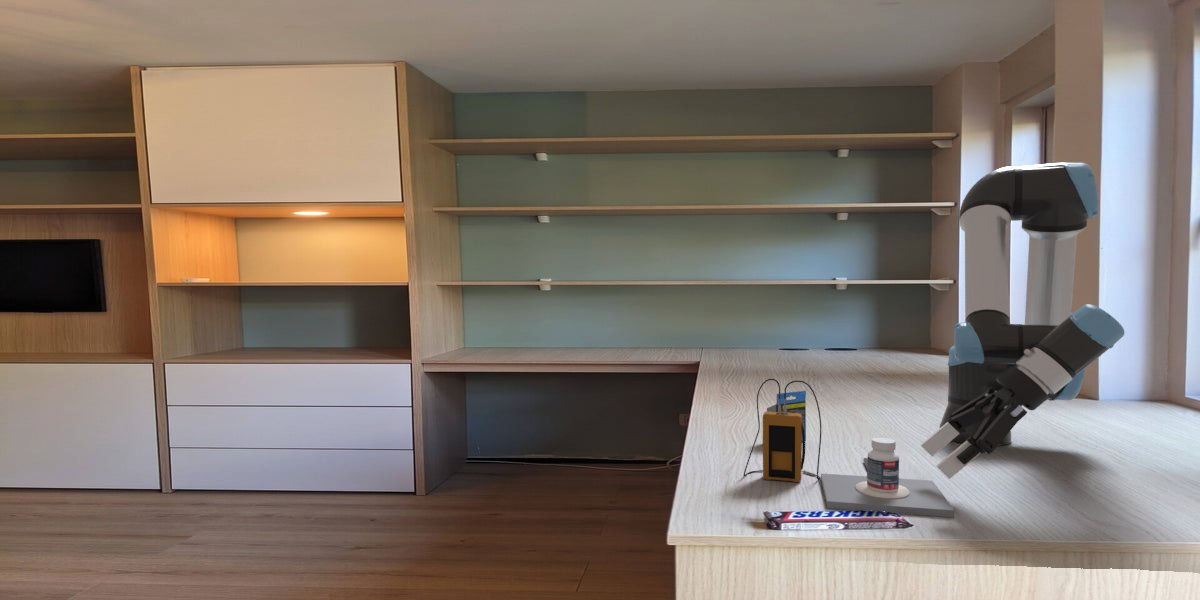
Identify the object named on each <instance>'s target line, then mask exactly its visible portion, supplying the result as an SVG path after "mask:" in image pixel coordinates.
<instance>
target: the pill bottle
mask: <svg viewBox="0 0 1200 600" xmlns="http://www.w3.org/2000/svg"><path fill="white" fill-rule="evenodd" d="M896 445H897V443H896V440H894V439H892V438H887V437H873V438H872V439H871V448H872V449H871V450H869V451H868V452H867V457H866V458H867V468H866V476H867V487H868V488H869V489H871V490H873V491H876V492H882V493H894V492H897V491H898V489H899V478H900V456H899V454H898V452H896V451H895V450H896V448H897V446H896Z"/></svg>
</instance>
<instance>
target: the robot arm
mask: <svg viewBox="0 0 1200 600" xmlns="http://www.w3.org/2000/svg"><path fill="white" fill-rule="evenodd" d="M1098 198H1099V195H1098V188H1097V181H1096V177H1095V174H1094V170H1093V169H1092V167H1091V165H1089V164H1088V163H1086V162H1054V163H1053V162H1052V163H1043V164H1042V163H1041V164H1032V165H1021V166H1020V165H1019V166H1013V165H1012V166H1004V167H1000V168H997V169H995V170H993V171H990V172H989V173H986V174H985V175H984V176H982V177H981V178H980V179H978V181H976V182H975V183H974V184H973V186H971V188H970V189H969V191H968V192H967V193H966V194H965V197H964V199H963V200H962V203H961V206H960V209H959V217H958V218H959V219H958V221H959V222H958V223H959V226H960V228H961V230H962V231H963V232H964V300H965V301H964V308H965V309H964V314H965V315H964V317H965V318H964V319H965V320H964V322H958V323H956V324H955V325H954V332H953V333H954V337H953V339H954V340H953V341H954V342H953V344H954V345H952V346H951V347H950V348H949V351H948V361H947V366H948V376H947V377H948V378H947V379H948V381H947V405H946V408H945V411H944V413H943V416H942V419H941V421H940V423H939V429H937V430H936V431H935V432H934V433H933V434H932V435H930V436H929V437H927V438H926V439H925V440H924V441H922V443H920V446H921V448H923V449H924V451H926V452H927V453H928V454H929V455H930V456H931V457H934V456H935V455H936V454H937V453H938V452H940V451H941V450H942V449H943V448H944V447H945V446H947V445H948V444H949V443H950V442H957V443H961V444H960V446H958V447H957V448H956V449H954V450H953V451H952V452H951V453H950V454H948V455H947V456H946V457H945V458H943V459H942V460H941V461H940V462H939V463H938V464H936V465H935V466H936V468H937V469H938V470H939V471H940V472H941V473H943V475H945V476H946V478H948V480H950V479H951V478H953V477H954V476H955V475H956V474H958V473H959V472H960V471H961V470H962V469H964V468H965V467H966V466H968V464H970V463H971V462H972V461H974V460H975V459H976V458H977V457H978V456H979V455H983V454H985V453H986V455H991V454H992V453H993V452H994V451H995V449H997V447H998V446H1005V445H1008V444H1011V442H1012V429H1014V427H1015V425H1016V424H1017V423H1018V422H1019V421H1021V420H1022V418H1023V417H1025V416H1026V415H1027V414H1028V411H1027V410H1029V411H1035V410H1036V409H1037V408H1038V407H1040V406H1041V405H1042V404H1044V403H1045V402H1046V401H1051V402H1053V401H1054V402H1055V401H1072V400H1073V399H1075V398H1076V397H1077V396H1078V394H1079V393H1080V391H1081V388H1082V385H1083V382H1084V378H1085V369H1086V368H1088V366H1090V365H1091V364H1092V363H1093V362H1095V361H1096V360H1098V358H1100V357H1101V356H1102V355H1103V354H1105V353H1106V352H1107V351H1108V350H1111V349H1112V348H1113V347H1114V346H1115V344H1117V343H1118V342H1119V340H1121V339H1122V338H1123V337H1124V336H1125V329H1124V327H1123V326H1122V324H1121V323H1120V322H1119V321H1118V320H1117V319H1116V318H1115V317H1113V315H1111V314H1110V313H1108V312H1107V311H1105V310H1103V309H1102V308H1101V307H1099V306H1097V305H1094V304H1091V303H1090V304H1089V303H1086V304H1084V305H1082V306H1081V307H1079V308H1078V309H1077V310H1075V311H1074V312H1072V307H1073V297H1074V296H1073V293H1074V283H1075V282H1074V281H1075V268H1076V257H1077V241H1078V240H1077V239H1078V234H1081V233H1082V232H1083V231H1084V230H1086V229H1087V226H1088V219H1089V220H1092V219H1094V218H1096V217H1097V216H1098V210H1099V199H1098ZM1012 221H1015V222H1016V221H1021V229H1022V231H1024V232H1025V233H1026V234H1027V235H1028V237H1029V238H1028V255H1027V256H1028V257H1027V276H1026V278H1027V279H1026V292H1025V293H1026V294H1025V314H1024V315H1025V316H1024V324H1022V323H1021V324H1020V323H1011V320H1010V319H1011V317H1010V316H1011V315H1010V314H1011V313H1010V293H1009V272H1008V271H1009V269H1008V268H1009V267H1008V250H1007V249H1008V247H1007V228H1008V227H1009V226H1010V225H1011V222H1012ZM1026 409H1027V410H1026Z"/></svg>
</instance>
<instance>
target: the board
mask: <svg viewBox="0 0 1200 600" xmlns="http://www.w3.org/2000/svg"><path fill="white" fill-rule="evenodd" d="M867 458H868V457H864V458H863V459H862V460H863V463H864V466H865V467H866V469H867ZM820 478H821V479H820V481H821V486H822V490H823V495H824V498H825V504H826V508H827V509H833V510H834V509H836V510H837V509H838V510H848V511H849V510H851V511H860V510H872V511H871V512H874V511H885V512H884V513H887V512H891V513H892V514H903V515H912V516H913V515H915V516H916V515H917V516H929V517H940V518H941V517H943V518H953V519H955V514H956V512H955V509H954V507H953V506H952V505H951V503H950V502H949V501H948V500H947V498H946V497H945V496H944V494H943V492H942V491H941V490H940V489H939V488H938V486H937V485H936V484H935V482H934V480H929V479H928V480H926V479H914V478H912V479H911V478H900V477H899V489H898V491H897V492H894V493H882V492H876V491H873V490H871V489H869V488H868V487H867V475H866V476H865V475H849V474H848V475H847V474H836V473H834V474H832V473H820ZM891 513H890V514H891Z"/></svg>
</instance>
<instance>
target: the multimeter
mask: <svg viewBox="0 0 1200 600" xmlns="http://www.w3.org/2000/svg"><path fill="white" fill-rule="evenodd" d="M769 381H775V382H776V383H777V386H778V394H779V406H778V412H767V411H765V412H763V414H762V470H761V469H760V470H753V471H749V472H747V468H748V465H749V463H750V459H751V457H752V453H753V450H754V448H755V445H756V442H757V439H758V435H759V433H760V427H761V425H760V424H761V423H760V422H761V421H760V411H759V396H760V392H761V390H762V387H763V386H764V384H766V383H767V382H769ZM793 383H801V384H802V383H803V384H805V385H806V386H808V387H809V389H810V390H811V392H812V394H813V396H814V400H815V402H816V406H817V411H818V417H819V445H818V455H817V467H816V474H815V473H813V472H810V471H807V470H803V468H804V465H805V459H806V441H805V431H804V428H803V423H802V415H801V414H799V413H787V406H786V399H787V398H786V393H787V388H788V386H789V385H791V384H793ZM780 393H781V385H780V383H779V381H778V380H776V379H775V378H768V379H766V380H765V381H763V382H762V384H761V385H760V387H759V388H758V391H757V394H756V413H757V420H758V430H757V433H756V435H755V438H754V442H753V445H752V447H751V450H750V453H749V456H748V459H747V462H746V465H745V468H744V471H743V477H744V476H745V477H747V476H748V475H749V474H752V473H759V472H760V473H762V478H763V479H764V480H766V481H770V480H773V481H774V480H775V481H787V482H793V483H799V482H801V481H802V474H805V475H809V476H814V477H816V479H817V480H818V481H819V480H821V476H819V470H820V469H819V466H820V465H819V464H820V457H821V455H820V454H821V446H822V445H821V444H822V419H821V418H822V417H821V410H820V406H819V402H818V398H817V395H816V394H815V392H814V390H813V388H812V386H811V385H809V383H808V382H806V381H803V380H792V381H789V382H788V383H787V384H786V385H785V388H784V393H785V399H784V413H781V399H780ZM802 438H803V442H802ZM746 472H747V473H746ZM747 474H748V475H747Z"/></svg>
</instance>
